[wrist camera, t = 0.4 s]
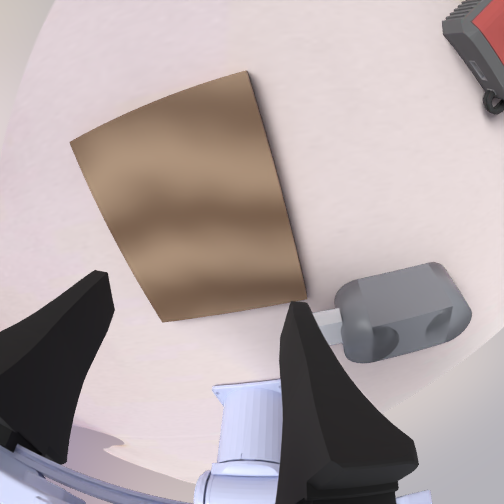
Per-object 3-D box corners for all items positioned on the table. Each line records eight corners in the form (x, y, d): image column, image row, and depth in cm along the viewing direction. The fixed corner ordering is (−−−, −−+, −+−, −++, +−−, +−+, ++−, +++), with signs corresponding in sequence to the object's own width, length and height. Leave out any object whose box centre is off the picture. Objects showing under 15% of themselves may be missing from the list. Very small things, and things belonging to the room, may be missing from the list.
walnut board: (306, 290, 24) (307, 299, 23) (165, 314, 26) (162, 322, 25) (247, 70, 15) (245, 70, 14) (77, 138, 18) (69, 142, 17)
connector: (444, 294, 23) (466, 335, 19) (304, 326, 26) (308, 374, 22) (448, 257, 21) (476, 298, 17) (295, 291, 24) (299, 341, 20)
